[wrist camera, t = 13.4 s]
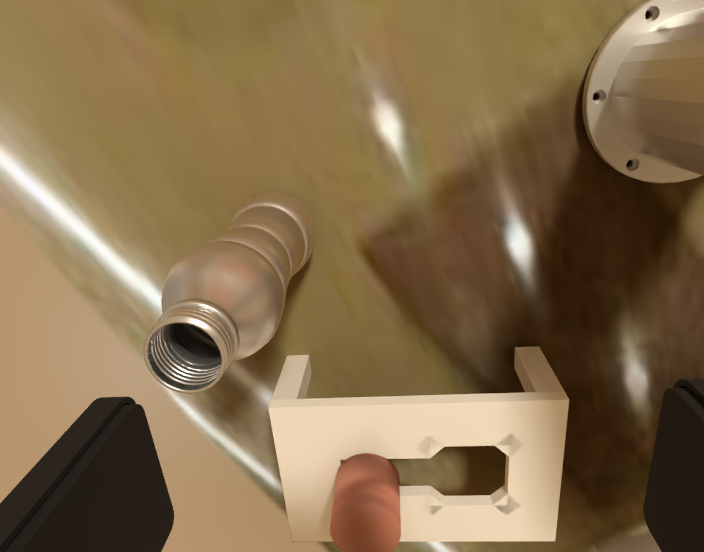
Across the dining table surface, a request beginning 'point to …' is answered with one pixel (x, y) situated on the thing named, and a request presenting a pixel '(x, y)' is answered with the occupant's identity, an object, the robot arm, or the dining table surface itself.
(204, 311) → the plastic bottle
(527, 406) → the keyhole plate
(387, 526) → the peg
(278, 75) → the dining table surface
